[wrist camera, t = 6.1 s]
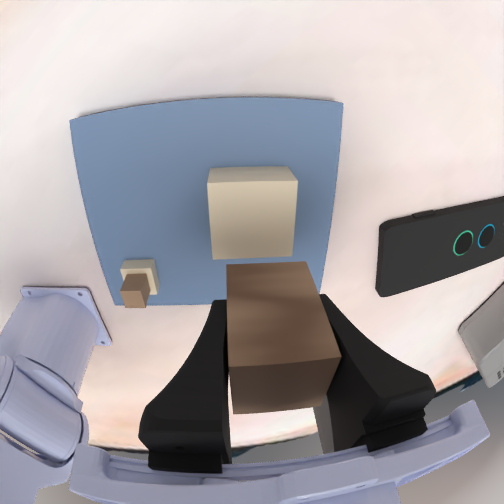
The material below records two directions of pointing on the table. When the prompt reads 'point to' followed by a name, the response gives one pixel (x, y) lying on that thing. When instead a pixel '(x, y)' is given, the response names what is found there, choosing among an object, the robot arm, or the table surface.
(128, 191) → the board
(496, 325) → the projector
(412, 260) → the smart home device
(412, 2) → the table surface
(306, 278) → the walnut block
